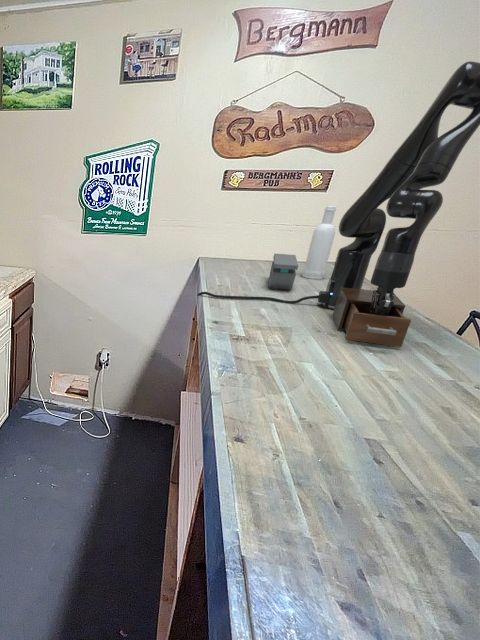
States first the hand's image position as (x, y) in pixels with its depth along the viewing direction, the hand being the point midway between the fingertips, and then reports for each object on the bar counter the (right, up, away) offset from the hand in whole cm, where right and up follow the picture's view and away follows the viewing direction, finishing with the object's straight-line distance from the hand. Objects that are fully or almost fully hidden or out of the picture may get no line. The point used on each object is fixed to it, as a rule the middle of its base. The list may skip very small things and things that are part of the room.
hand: (372, 328), depth 130 cm
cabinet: (+6, +2, +12) cm, 14 cm away
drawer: (-1, -3, 0) cm, 3 cm away
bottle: (+32, +28, +73) cm, 84 cm away
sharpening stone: (+9, +22, +59) cm, 64 cm away
